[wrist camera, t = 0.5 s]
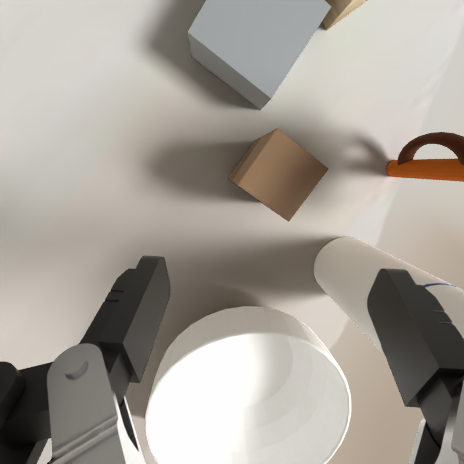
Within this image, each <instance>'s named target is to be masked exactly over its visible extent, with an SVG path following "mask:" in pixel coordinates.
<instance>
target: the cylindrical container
mask: <svg viewBox="0 0 464 464" xmlns="http://www.w3.org/2000/svg"><path fill="white" fill-rule="evenodd" d="M382 268H388V269H405V270H407V271H408V272H409V274H410V275H411V277H412V279H413V280H414V282H415V283H416V285H422V286H423V287H425V288H426V289H427V290H428V291H429V292H430V293H432V294H433V295H434V296H435V297H436V298H437V300H438V301H439V303H440V304H441V306H442V307H443V309H444V310H445V311H444V312H445V313H447V315H448V316H449V318H450V319H451V321H452V324H453V325H455V327H456V328H457V330H458V331H459V333H460V334H461V336H462V337H463V339H464V290H462V289H460V288H457V287H456V286H453V285H451V284H449V283H447V282H445V281H443V280H441V279H439V278H437V277H435V276H433V275H431V274H429V273H427V272H425V271H423V270H421V269H419V268H417V267H415V266H413V265H411V264H409V263H407V262H404V261H402V260H400V259H398V258H396V257H394V256H392V255H390V254H388V253H386V252H384V251H382V250H380V249H378V248H376V247H374V246H372V245H370V244H368V243H366V242H364V241H361V240H359V239H357V238H354V237H340V238H337V239H334V240H332V241H331V242H329V243H328V244H326V245H325V246H324V247H323V248H322V249H321V250H320V252H319V253H318V255H317V257H316V260H315V263H314V275H315V279H316V281H317V283H318V284H319V285H320V287H321V288H322V289H323V290H324V291H325V292H326V293H327V294H328V295H329V296H330V297H331V298H332V300H333V301H334V302H335V303H336V304H337V305H338V306H339V307H340V308H341V309H342V310H343V311H344V313H345V314H346V315H347V316H348V317H349V318H350V319H351V320H352V321H353V322H354V323H355V324H356V325H357V326H358V328H359V329H360V330H361V331H362V332H363V333H364V334H365V335H366V336H367V337H368V338H369V340H370V341H371V342H372V343H373V344H374V345H375V346H376V347H377V348H378V349H379V350H380V351H381V352H382V354H383V355H384V356H385V354H384V351H383V348H382V346H381V343H380V341H379V338H378V336H377V333H376V331H375V328H374V325H373V323H372V320H371V318H370V315H369V313H368V309H367V298H368V295H369V292H370V290H371V288H372V285H373V283H374V281H375V279H376V276H377V274H378V272H379V270H380V269H382ZM385 357H386V356H385Z"/></svg>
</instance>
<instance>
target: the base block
mask: <svg viewBox="0 0 464 464" xmlns="http://www.w3.org/2000/svg"><path fill="white" fill-rule="evenodd" d="M330 8H331V6H330V5H329V4H328V3H327V2H326V1H325V0H206V1H205V3H204V5H203V6H202V8H201V10H200V11H199V13H198V15H197V17H196V18H195V20H194V22H193V24H192V25H191V27H190V29H189V30H188V38H189V44H190V50H191V57H193V58H194V59H195V60H197V61H198V62H199V63H200V64H202V65H203V66H204V67H206V68H207V69H208V70H209V71H211V72H212V73H213V74H215V75H216V76H217V77H218V78H220V79H221V80H222V81H224V82H225V83H226V84H227V85H229V86H230V87H231V88H233V89H234V90H235V91H236V92H238V93H239V94H240V95H242V96H243V97H244V98H245V99H247V100H248V101H249V102H251V103H252V104H253V105H254V106H256V107H257V108H258V109H260V110H261V109H262V108H263V107H264V106H265V105H266V104H267V102H268V101H269V100H270V99H271V98H272V96H273V95H274V93H275V92H276V90H277V89H278V87H279V86H280V84H281V83H282V81H283V80H284V78H285V77H286V75H287V74H288V72H289V71H290V69H291V68H292V66H293V65H294V63H295V62H296V60H297V58H298V57H299V55H300V54H301V52H302V51H303V49H304V48H305V46H306V45H307V43H308V42H309V40H310V39H311V37H312V36H313V34H314V33H315V31H316V30H317V28H318V27H319V25H320V24H321V22H322V20H323V19H324V17H325V16H326V14H327V13H328V11H329V10H330Z"/></svg>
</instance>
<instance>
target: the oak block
mask: <svg viewBox="0 0 464 464" xmlns="http://www.w3.org/2000/svg"><path fill="white" fill-rule="evenodd" d="M325 1H326V2H327V3H328V4H329V5H330V6H331V8H330V10H329V11H328V13H327V14H326V16H325V17H324V19H323V20H322V22H323V24H324V26H325V28H326V30H328V29H329V28H330V27H332V26H333V25H335V24H336V23H337V22H339V21H340V20H341V19H343V18H344V17H346V16H347V15H348V14H350V13H351V12H352V11H354V10H355V9H356V8H358V7H359V6H361V5H362V4H363V3H365V2H366V1H367V0H325Z"/></svg>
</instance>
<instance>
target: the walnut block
mask: <svg viewBox="0 0 464 464" xmlns="http://www.w3.org/2000/svg"><path fill="white" fill-rule="evenodd" d="M327 170H328V168H327V167H325V166H324V165H323V164H322V163H320V162H319V161H318V160H317V159H315V158H314V157H313V156H312V155H310V154H309V153H308V152H307V151H306V150H304V149H303V148H302V147H301V146H299V145H298V144H297V143H296V142H294V141H293V140H292V139H291V138H289V137H288V136H287V135H286V134H284V133H283V132H282V131H281V130H279V129H278V128H277V129H275V130H274V131H272V132H270V133H268V134H266V135H264V136H263V137H261V138H259V139H257V140H255V141H253V143H252V144H251V146H250V147H249V149H248V150H247V152H246V153H245V154H244V156H243V157H242V159H241V160H240V162H239V163H238V165H237V166H236V167H235V169H234V170H233V172H232V173H231V175H230V176H229V178H228V179H229V180H231V181H232V182H234V183H235V184H236V185H238V186H239V187H241V188H242V189H243V190H245V191H246V192H247V193H249V194H250V195H252V196H253V197H254V198H256V199H257V200H259V201H260V202H261V203H263V204H264V205H266V206H267V207H268V208H270V209H271V210H273V211H274V212H276V213H277V214H278V215H280V216H281V217H283V218H284V219H286V220H287V221H288V222H289V221H290V219H291V218H292V217H293V215H294V214H295V213H296V211H297V210H298V209H299V207H300V206H301V205H302V203H303V202H304V201H305V200H306V198H307V197H308V196H309V194H310V193H311V192H312V190H313V189H314V188H315V186H316V185H317V184H318V182H319V181H320V180H321V178H322V177H323V176H324V174H325V173H326V172H327Z"/></svg>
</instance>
